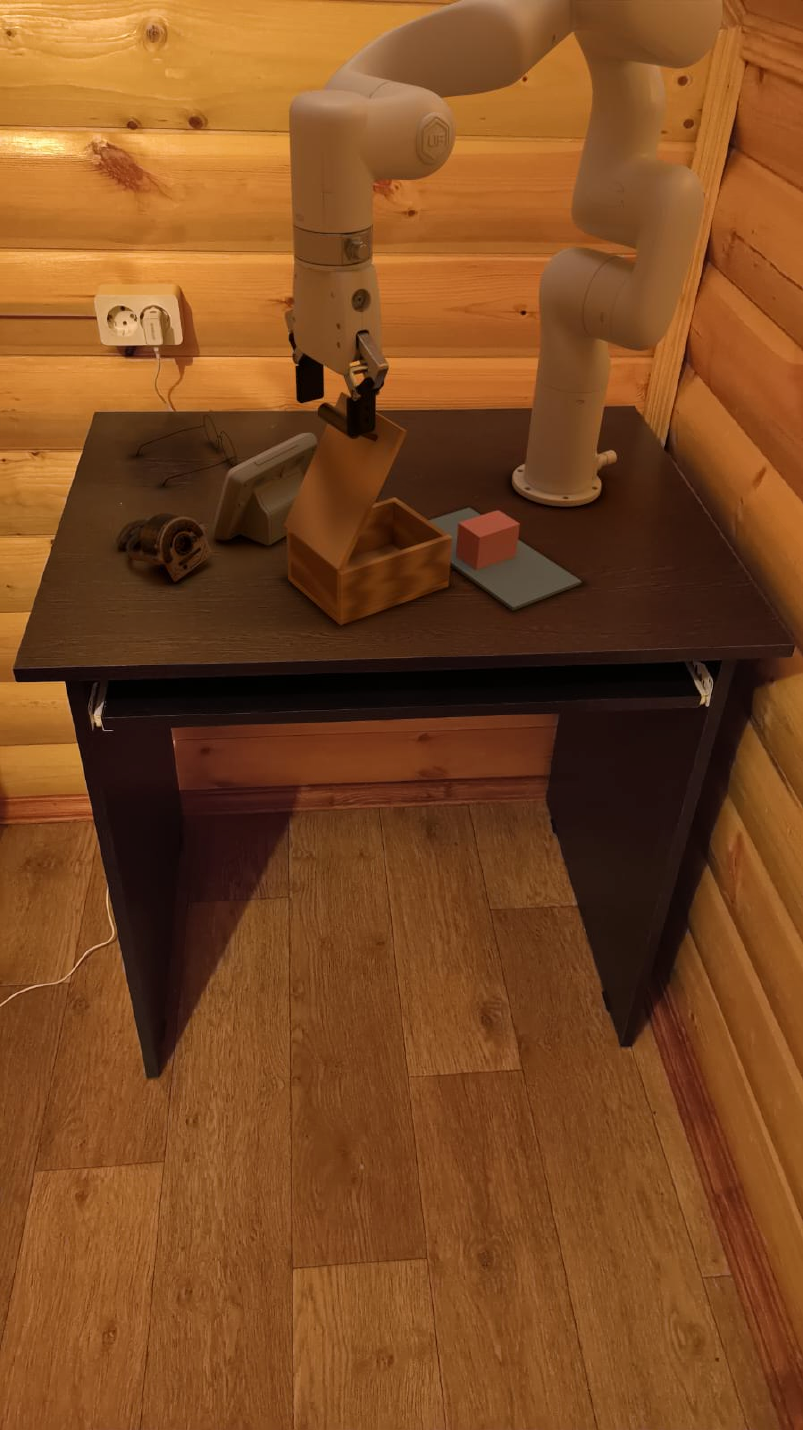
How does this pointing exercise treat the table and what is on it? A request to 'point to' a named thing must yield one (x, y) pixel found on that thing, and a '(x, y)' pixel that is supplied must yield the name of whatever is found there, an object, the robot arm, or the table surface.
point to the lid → (342, 483)
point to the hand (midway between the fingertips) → (335, 415)
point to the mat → (509, 569)
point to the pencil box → (375, 564)
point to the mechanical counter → (167, 542)
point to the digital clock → (264, 491)
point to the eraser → (487, 539)
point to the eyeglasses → (210, 442)
